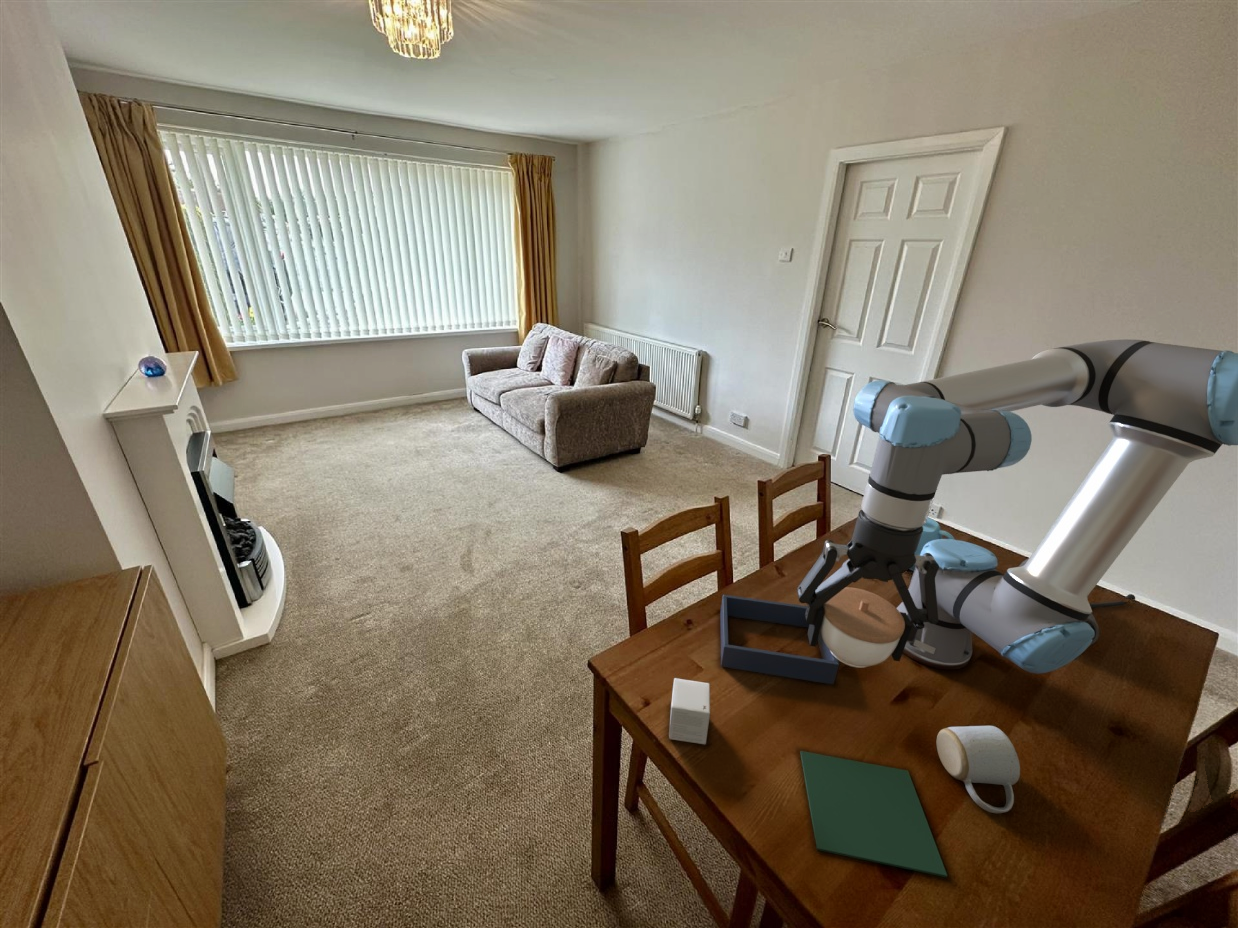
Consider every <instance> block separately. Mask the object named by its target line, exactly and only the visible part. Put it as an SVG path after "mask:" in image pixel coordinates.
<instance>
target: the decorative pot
mask: <svg viewBox="0 0 1238 928" xmlns="http://www.w3.org/2000/svg"><path fill="white" fill-rule="evenodd" d="M943 537H945V538H946V539H952V540H956V539H955V537H954V536H953V535H952V534H951V533H950V532H948V531H946V530H942V529H941V526H940V524H939V522H938V521H936V520H935V519H933V518H931V517H929V516H928V518H927V521H926V523H925V525H923V532H922V535H921V538H920V541H919V544H918V547H917V550H916V551H915V555H920V553H921V551H922V549H923V547H924V545H925V544H926V543H928V542H930V541H933V540H938V539H943ZM915 567H916V566H915V565H914V566H912V567H911V568H909V569H908V570H909V571H913V572H914V570H915Z"/></svg>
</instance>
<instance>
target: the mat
mask: <svg viewBox="0 0 1238 928" xmlns="http://www.w3.org/2000/svg"><path fill="white" fill-rule="evenodd" d="M799 753H800V759H801V764H802V765H801V766H802V771H803V776H804V782H805V787H806V794H807V800H808V807H809V810H810V811H809V813H810V817H811V823H812V829H813V835H814V840H815V847H816V851H821V852H826V853H831V854H835V855H839V856H843V857H849V858H854V859H858V860H863V861H867V862H873V863H877V864H882V865H887V866H890V867H896V868H900V869H905V870H910V871H915V872H918V873H924V874H929V875H934V876H938V877H942V878H948V873H947V871H946V867H945V866H944V863H943V859H942V857H941V855H940V852H939V850H938V847H937V844H936V841H935V838H934V836H933V834H932V830H931V828H930V825H929V823H928V820H927V818H926V815H925V812H924V809H923V807H922V804H921V801H920V798H919V795H918V794H917V791H916V788H915V785H914V783H913V780H912V778H911V775H910V771H909V770H907V769H901V768H896V767H892V766H891V767H890V766H885V765H880V764H874V763H869V762H864V761H857V760H854V759H853V760H852V759H846V758H841V757H835V756H830V755H825V754H820V753H814V752H808V751H804V750H800V752H799Z"/></svg>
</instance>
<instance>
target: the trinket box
mask: <svg viewBox="0 0 1238 928" xmlns="http://www.w3.org/2000/svg"><path fill="white" fill-rule="evenodd" d="M823 607H824V611H825V612H824V616H823V620H822V624H821V628H820V632H821V636H822V639H823V641H824V643H825V644H826V646H827V647H828V648H829V650H830V652H831V653H832V655H833V656H834V657H835V658H837V660H838V662H841V663H843V664H845V665H847V666H849V667H853V668H860V669H861V668H862V669H863V668H867V667H872V666H877V665H880V664H881V663H883V662H885V661H886V660H887V659H889V658H890V657H891V656H892V655H891V654H892V653H893V651H894V650H895V648H896V646H897V645H898V642H899V640H900V637H901V636H902V634H903V632H904V629H905V621H904V618H903V617H902V615H901V613H900V612H899V611H898V609H897V607H896V606H895V605H893V604H892V603H891V602H890V601H888V600H887V599H885V598H884V597H882V596H880V595H878V594H877V593H874V592H871V591H868V590H866V589H862V588H857V587H849V586H847V587H845V588H844V589H843V590H842V591H840V592H839V593H838V594H837V595H835V596H834V597H833V598H831V599H830V600H829V601H828V602H826V603H825V604H824V605H823Z"/></svg>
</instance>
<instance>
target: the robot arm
mask: <svg viewBox="0 0 1238 928" xmlns="http://www.w3.org/2000/svg"><path fill="white" fill-rule="evenodd" d="M1041 405H1042V406H1045V407H1048V408H1060V407H1065V406H1075V407H1081V408H1086V409H1091V410H1094V411H1099V412H1102V413H1105V414H1109V415H1112V418H1111V419H1110V421H1109V422H1108V423H1107V425H1108V428H1109V430H1110V432H1111V434H1112V439H1111V440H1110V442H1109V444H1108V445H1107V447H1106V448H1105V449H1104V451H1102V454H1101V455H1100V457H1098V459H1097V461H1096V462H1095V463H1094V465H1093V466H1092V468H1091V470H1090V471H1089V472H1088V474H1087V475H1086V476H1085V478H1084V479H1083V481H1082V482H1081V484H1080V485H1079V487H1078V488H1077V489H1076V491H1075V492H1074V494H1073V495H1072V497H1071V498H1070V499H1069V501H1068V502H1067V503H1066V505H1065V506H1064V508H1063V509H1062V510H1061V512H1060V514H1058V517H1057V518H1056V519H1055V521H1054V522H1053V523H1052V525H1051V526H1050V528H1049V530H1047V532H1046V534H1045V535H1044V536H1043V538H1042V540H1041V541H1040V543H1039V544H1038V545H1037V546H1036V548H1035V549H1034V551H1033V552H1032V554H1031V555H1030V557H1029V558H1027V559H1028V561H1027V562H1026V564H1025V565H1023V566H1021V567H1019V566H1016V567H1009V568H1008V569H1006V571H1005V573H1002V572H1000V571H999V570H997V567H998V565H999V563H998V558H997V557H996V555H995V553H993V552H992V551H991V550H989V549H988V548H986V547H983V546H981V545H977V544H975V543H972V542H968V541H964V540H959V539H955V540H952V539H948V538H942V539H938V540H933V541H930V542H928V543H926V544H925V545H924V547H923V549H922V551H921V553H920V555H915V551H916V550H917V547H918V544H919V541H920V538H921V535H922V532H923V525H925V523H926V521H927V518H928V517H929V514H930V511H931V508H932V506H933V502H934V500H935V496H936V492H937V491H938V487H939V484H940V481H941V478H942V476H943V475H953V474H960V473H962V474H963V473H973V472H975V473H976V472H985V471H987V472H992V471H996V470H998V469H1001V468H1002V469H1003V468H1006V467H1007V468H1008V467H1011V466H1013V465H1016V464H1018V463H1019V462H1021V461H1022V460H1023V459H1024V458H1025V457H1026V456H1027V454H1028V453H1029V451H1030V450H1031V446H1032V440H1033V438H1032V437H1033V436H1032V431H1031V428H1030V426H1029V425H1028V423H1027V422H1026V420H1025V419H1024V418H1023V417H1021V416H1020V415H1019V414H1017V413H1015V412H1014V411H1019V410H1023V409H1027V408H1032V407H1037V406H1041ZM852 411H853V416H854V418H855V420H856V421H857V422H858V423H859V424H860V425H862V426H864V427H866V428H867V429H870V430H871V432H873V433H877V434H879V435H878V440H877V442H876V443H877V445H876V447H875V452H874V456H873V460H872V464H871V468H870V471H869V474H868V479H867V482H866V486H865V489H864V494H863V497H862V501H861V505H860V508H861V509H860V510H859V511H858V514H857V518H856V521H855V525H854V528H853V533H852V537H851V540H850V541H849V542H848V543H847V544H841V543H840V544H838V543H835V542H834V541H833V540H832V539H827V540H825V541H824V545H823V549H822V553H821V554H820V555H819V557H818V558H817V560H816V561H815V563H813V566H812V567H811V568H810V570H809V571H808V572H807V574H806V575H805V576H804V578H803V579H802V580H801V582H800V584H798V587H797V588H796V592H797V598H798V601H799V603H800V604H806V606H807V609H806V613H805V617H806V621H807V624H810V625H809V628H807V639H808V642H809V646H810V647H815V648H816V647H817V644H818V641H817V639H818V635H819V631H820V628H821V624H822V620H823V616H824V612H825V611H824V607H823V605H824V604H825V603H826V602H828V601H829V600H830V599H831V598H833V597H834V596H835V595H837V594H838V593H839V592H840V591H842V590H843V589H844V588H845V587H849V586H850V585H851V584H852V583H853V584H854V583H857V582H858V581H860V580H861V579H864V580H878V581H879V582H886V583H888V582H889V581H892V582H893V584H894V586H895V588H896V591H897V593H898V595H899V597H900V599H901V601H902V602H900V604H899V605H897V607H896V608H897V609H898V611H899V612H900V613H901V615H902V617H903V618H904V621H905V629H904V632H903V634H902V636H901V637H900V640H899V642H898V645H897V646H896V648H895V650H894V651H893V653H892V654H891V655H890V656H891V657H892V659H893V661H895V662H900V661H901V660H902V656H903V654H904V655H906V657H909V658H910V659H912V660H913V661H915V662H918V663H920V664H922V665H925V666H928V667H931V668H934V669H939V670H948V671H953V670H959V669H963V668H965V667H966V666H967V665H968V664H969V662H970V659H971V657H972V655H973V637H972V636H973V635H972V633H973V634H974V635H976V636H977V637H978V638H980V639H981V640H982V641H984V642H985V643H986V644H988V645H989V646H990V647H991V648H993V649H994V650H995V651H997V652H998V653H999V654H1000V656H1001V657H1003V658H1004V659H1007V660H1009V661H1010V662H1012V663H1013V664H1015V665H1016V666H1018V667H1019V668H1021V669H1022V670H1024V671H1025V672H1028V673H1031V674H1047V673H1050V672H1053V671H1056V670H1058V669H1060V668H1063V667H1065V666H1066V665H1068V664H1070V663H1071V662H1073V661H1074V660H1076V659H1077V658H1078V657H1079V656H1081V655H1082V654H1083V653H1084V652H1086V650H1087V649H1088V648H1089V647H1090V646H1091V645H1092V644H1091V642H1092V638H1093V637H1094V635H1095V633H1094V630H1093V629H1092V628H1091V626H1090V625H1089V624H1088V623H1086V622H1085V621H1086V619H1087V618H1088V617H1089V615H1090V614H1091V613H1092V614H1093V610H1092V609H1098V608H1111V607H1118V606H1119V607H1120V606H1124V605H1126V604H1128V603H1129V602H1130V601H1131V600H1132V601H1135V600H1136V596H1135V595H1134V594H1132V593H1129V594H1127V595H1126V596H1125V597H1124V598H1127V599H1130V601H1128V602H1123V601H1121V600H1122V599H1120V600H1117V601H1109V602H1098V603H1097V602H1095V603H1090V602H1089V600H1088V596H1089V595H1090V594H1091V592H1093V590H1094V588H1095V587H1096V586H1097V585H1098V584H1099V582H1100V581H1101V580H1102V578H1103V577H1104V576H1105V575H1106V573H1107V572H1108V570H1109V569H1110V568H1111V567H1112V565H1113V563H1115V561H1116V560H1117V559H1118V557H1119V556H1120V554H1122V552H1123V550H1124V549H1125V548H1126V547H1127V545H1128V544H1129V543H1130V542H1131V540H1132V539H1133V537H1134V536H1135V535H1136V534H1137V532H1138V531H1139V530H1140V528H1141V527H1142V525H1143V524H1144V523H1145V521H1146V520H1147V519H1148V518H1149V516H1150V515H1151V514H1152V513H1153V511H1154V510H1155V509H1156V507H1158V505H1159V504H1160V503H1161V501H1162V499H1163V498H1164V497H1165V496H1166V494H1167V493H1168V492H1169V491H1170V489H1171V487H1173V485H1174V484H1175V483H1176V481H1177V480H1178V479H1179V477H1180V476H1181V475H1182V473H1183V472H1184V471H1185V469H1186V468H1187V467H1188V465H1189V464H1190V463H1192V462H1194V461H1199V460H1202V459H1207V458H1210V457H1214V455H1215V454H1216V453H1217V452H1218V450H1220V448H1221V446H1223V445H1226V446H1229V447H1230V446H1238V353H1237V352H1233V351H1231V350H1219V349H1211V348H1205V347H1204V348H1203V347H1195V346H1194V347H1193V346H1186V345H1180V344H1171V343H1163V342H1162V343H1161V342H1154V341H1150V340H1143V339H1127V338H1126V339H1125V338H1124V339H1108V340H1099V341H1092V342H1091V341H1089V342H1082V343H1076V344H1070V345H1065V346H1059V347H1055V348H1049V349H1046V350H1043V351H1041V352H1038V353H1037V354H1035V355H1034V356H1033V357H1032V358H1031V359H1027V360H1021V361H1017V362H1012V363H1007V364H1002V365H997V366H992V367H987V368H981V369H977V370H972V371H968V372H963V373H958V374H953V375H947V376H943V377H938V378H933V379H928V380H923V381H918V382H913V383H907V384H897V383H896V382H893V381H885V380H873V381H870V382H869V383H867V384H866V385H864V386H863V387H862V388H861V389H860V390H859V392H857V394H856V396H855V399H854V402H853V409H852ZM844 556H847V558H848V559H846V560H845V561H844V562H843V563H842V565H841V566H840V568H839V569H837V570H836V571H835V572H834V573H832V574H831V575H830V576H829V577H827V576H828V575H829V573H830V572H832V571H831V570H833V568H834V566H835V565H836V562H840V560H841V558H842V557H844ZM914 565H915V566H916V567H915V570H914V571H913V574H912V577H911V580H910V583H909V586H907V583H906V581H905V579H904V576H903V574H904V573H905V572H906V571H908V570H910V569H909V568H911V567H912V566H914ZM826 577H827V578H826ZM1090 644H1091V645H1090ZM1089 645H1090V646H1089Z"/></svg>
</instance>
